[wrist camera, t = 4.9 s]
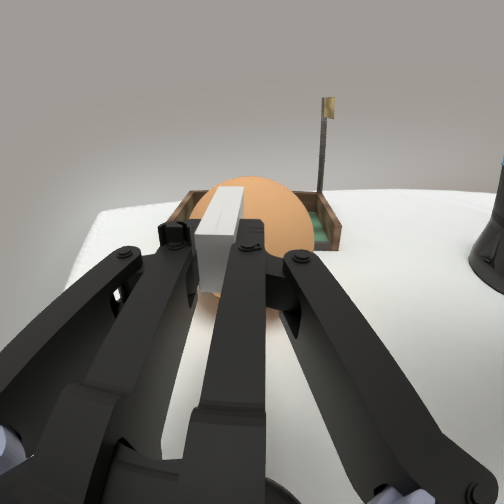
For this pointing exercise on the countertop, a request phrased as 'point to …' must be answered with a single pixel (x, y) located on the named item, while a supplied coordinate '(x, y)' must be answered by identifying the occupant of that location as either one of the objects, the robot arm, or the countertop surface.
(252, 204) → the ball
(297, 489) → the countertop surface
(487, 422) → the countertop surface
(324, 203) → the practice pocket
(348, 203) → the countertop surface
